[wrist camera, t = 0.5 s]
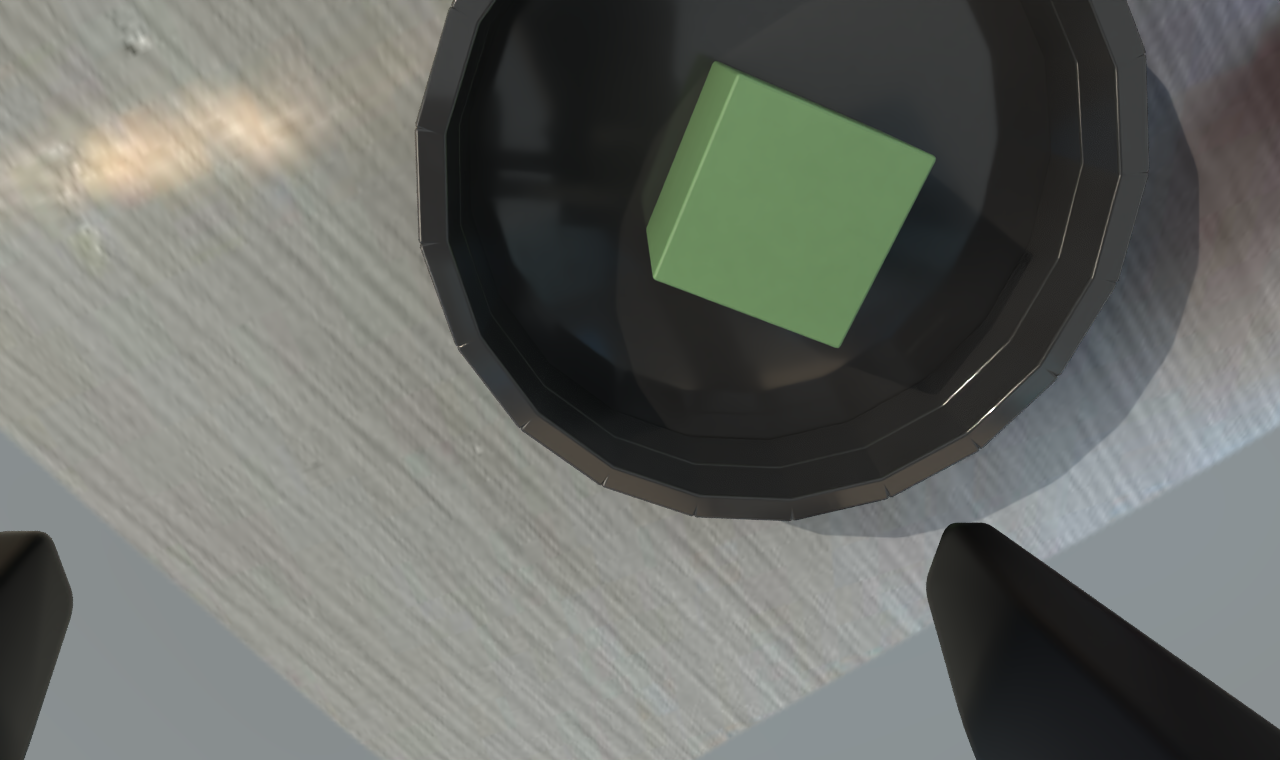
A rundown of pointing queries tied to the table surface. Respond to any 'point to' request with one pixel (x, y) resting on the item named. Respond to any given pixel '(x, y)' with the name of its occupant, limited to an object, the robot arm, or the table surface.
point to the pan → (736, 342)
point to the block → (781, 206)
